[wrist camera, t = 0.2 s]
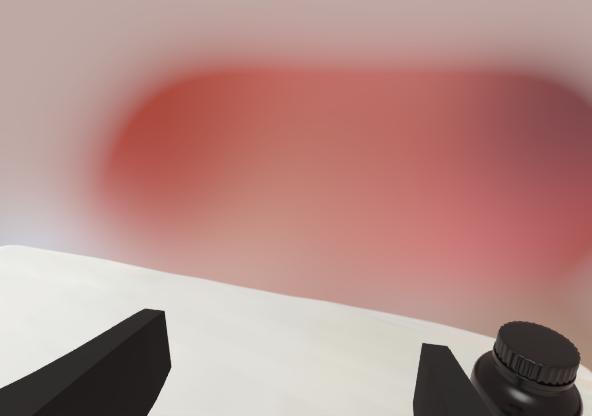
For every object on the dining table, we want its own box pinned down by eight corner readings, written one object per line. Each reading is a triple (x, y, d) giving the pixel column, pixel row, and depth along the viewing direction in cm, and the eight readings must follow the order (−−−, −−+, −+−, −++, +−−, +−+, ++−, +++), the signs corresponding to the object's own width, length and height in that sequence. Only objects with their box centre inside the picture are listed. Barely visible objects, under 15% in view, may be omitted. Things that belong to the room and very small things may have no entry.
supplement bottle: (458, 502, 29) (490, 366, 24) (449, 424, 35) (473, 304, 31) (567, 531, 27) (620, 389, 23) (537, 443, 33) (575, 320, 29)
